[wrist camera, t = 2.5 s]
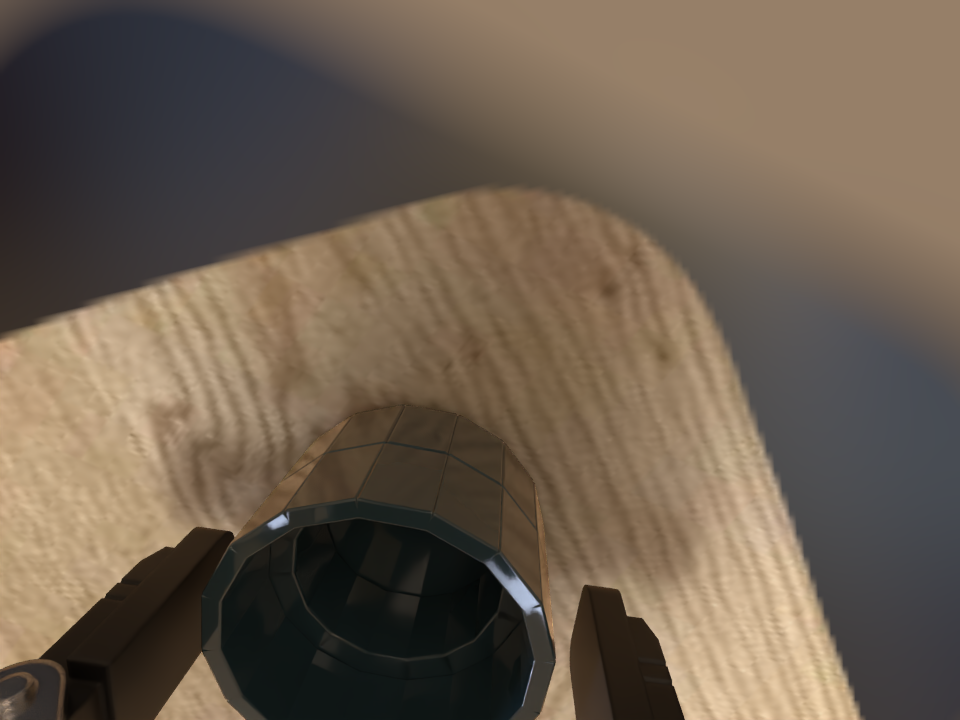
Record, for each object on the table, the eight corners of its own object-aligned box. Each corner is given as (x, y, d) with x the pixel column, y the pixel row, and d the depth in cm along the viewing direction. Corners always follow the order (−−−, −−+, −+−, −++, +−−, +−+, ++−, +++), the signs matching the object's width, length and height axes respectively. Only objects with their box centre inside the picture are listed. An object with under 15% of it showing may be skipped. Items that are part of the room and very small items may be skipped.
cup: (262, 424, 13) (143, 534, 9) (512, 377, 12) (512, 472, 8) (338, 625, 15) (269, 793, 11) (560, 595, 14) (580, 765, 10)
